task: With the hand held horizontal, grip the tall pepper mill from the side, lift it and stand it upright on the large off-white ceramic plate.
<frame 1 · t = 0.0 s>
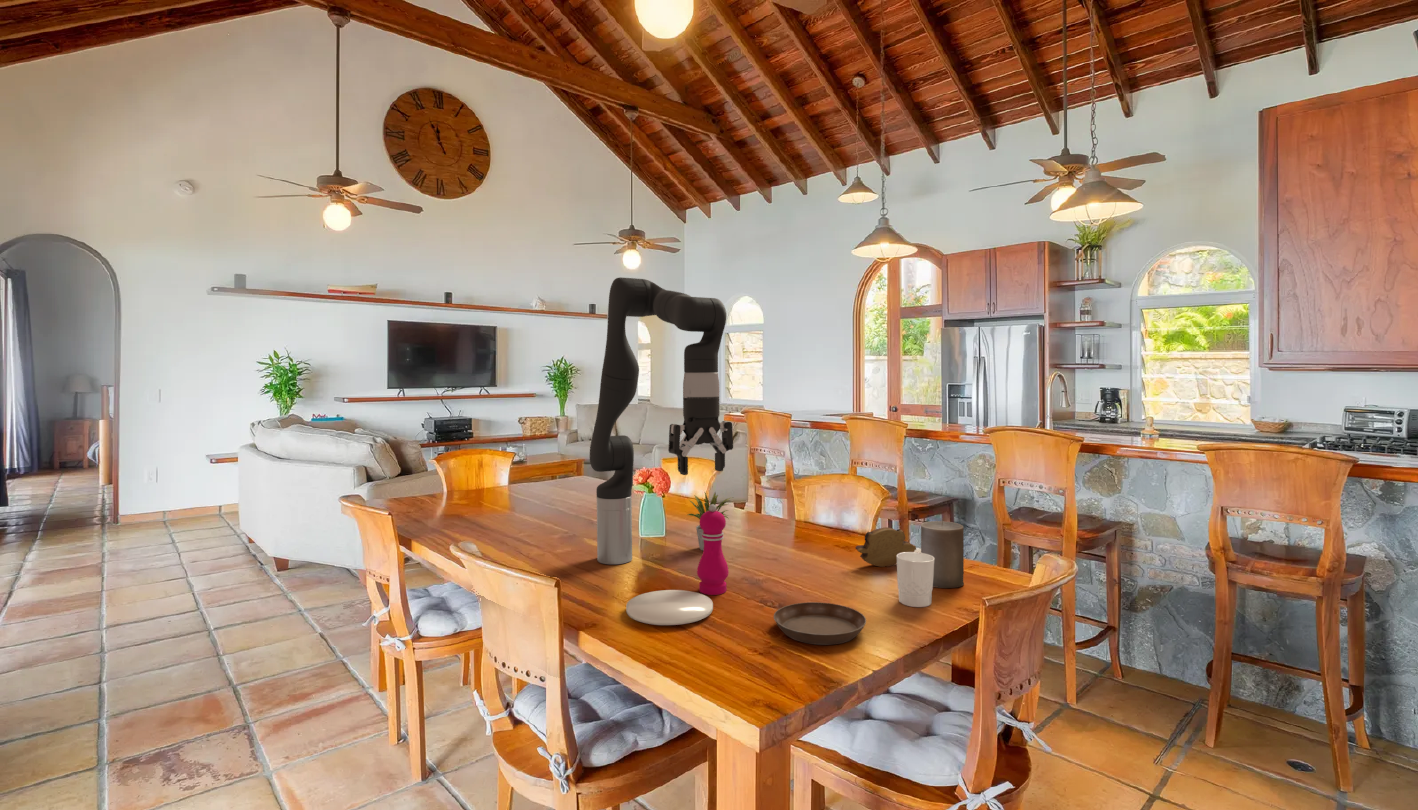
hand: (701, 472, 139), 29 cm above the table, tool pointing down, fingers open, 8 cm apart
plant saucer: (819, 632, 130), on the table
plate: (669, 612, 140), on the table
house plant: (710, 550, 189), on the table
white cup: (914, 603, 145), on the table
pepper mill: (712, 591, 154), on the table
wooden carving: (884, 566, 173), on the table
pillar candle: (941, 583, 159), on the table
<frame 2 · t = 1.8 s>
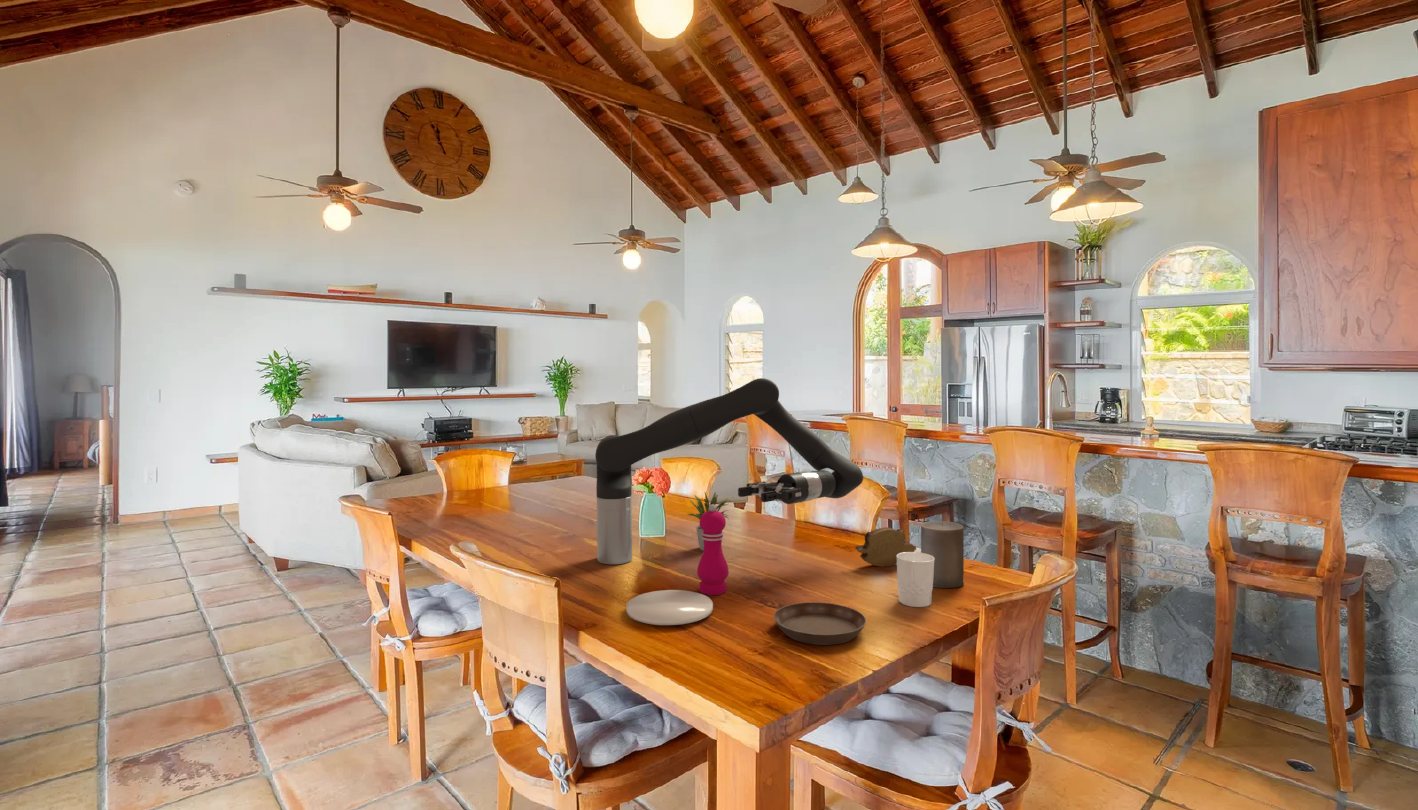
hand: (750, 495, 159), 21 cm above the table, tool horizontal, fingers open, 8 cm apart
nothing on the table moved.
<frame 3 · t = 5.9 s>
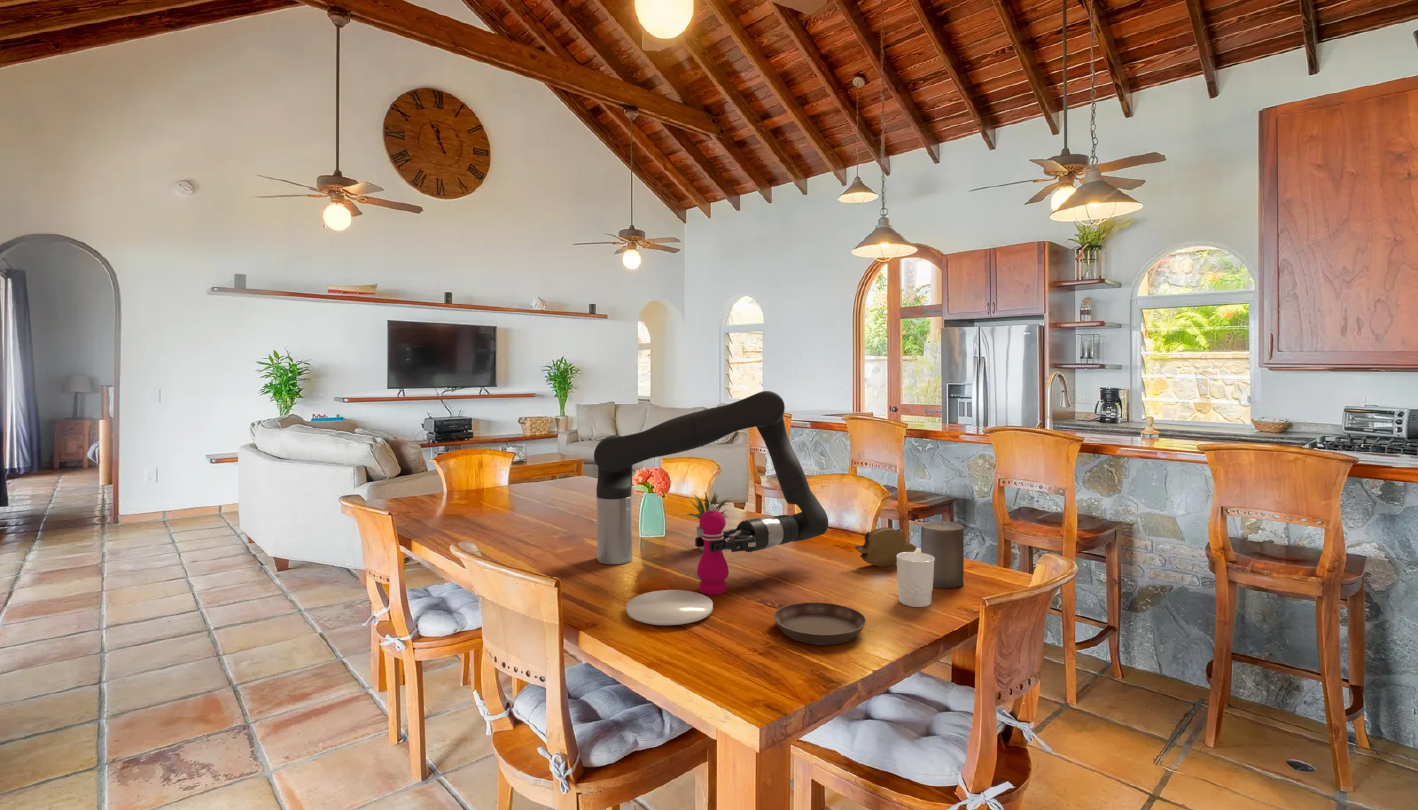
hand: (703, 544, 151), 11 cm above the table, tool horizontal, fingers closed on pepper mill, 4 cm apart
pepper mill: (712, 591, 154), on the table, touching gripper
everything else where it was.
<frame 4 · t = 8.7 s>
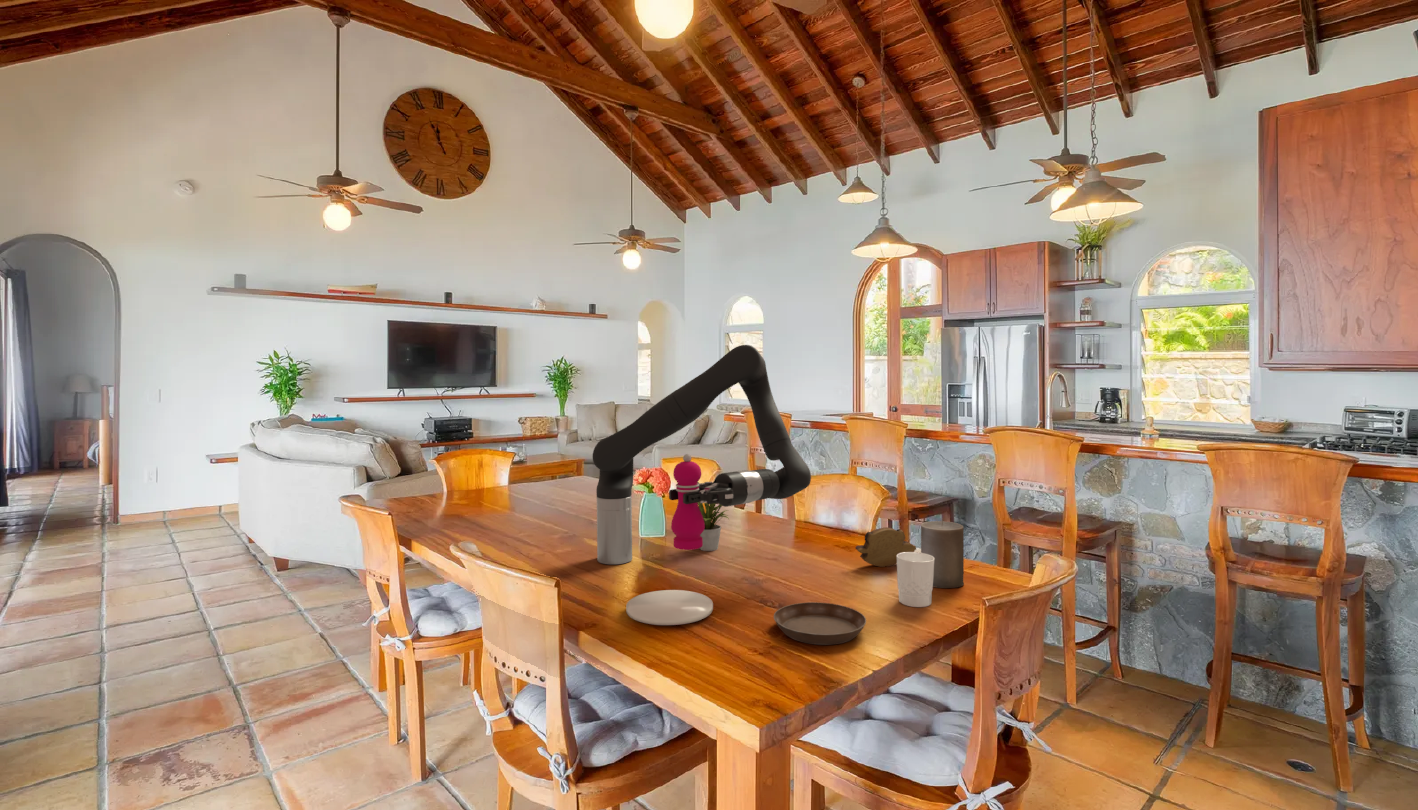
hand: (677, 497, 142), 24 cm above the table, tool horizontal, fingers closed on pepper mill, 4 cm apart
pepper mill: (688, 547, 144), point 12 cm above the table, touching gripper
everything else where it was.
when the fingers open (14 cm above the table, at t = 11.5 s): pepper mill moves 4 cm, resting on plate.
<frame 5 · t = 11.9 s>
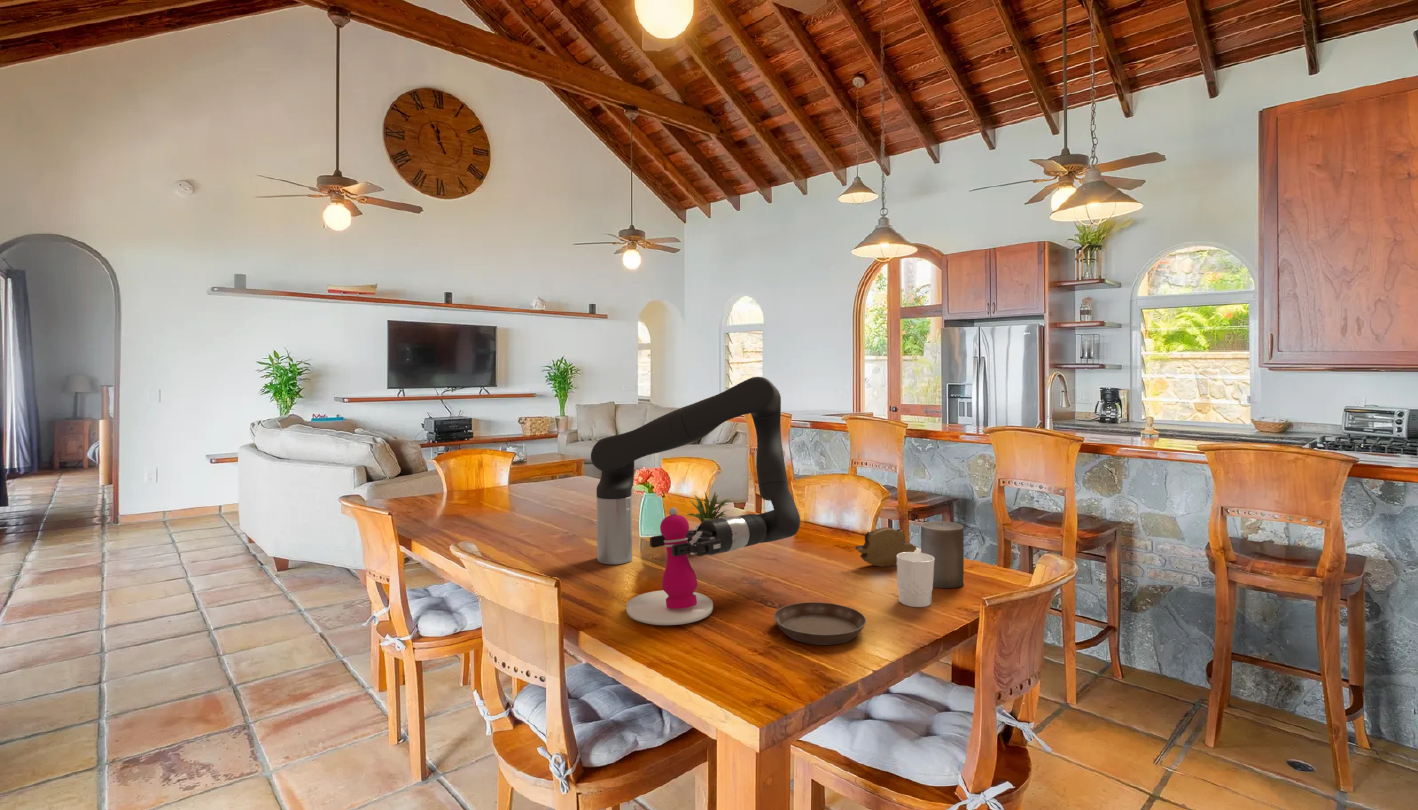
hand: (661, 546, 138), 14 cm above the table, tool horizontal, fingers open, 8 cm apart
pepper mill: (681, 606, 137), point 2 cm above the table, touching gripper, plate
everything else where it was.
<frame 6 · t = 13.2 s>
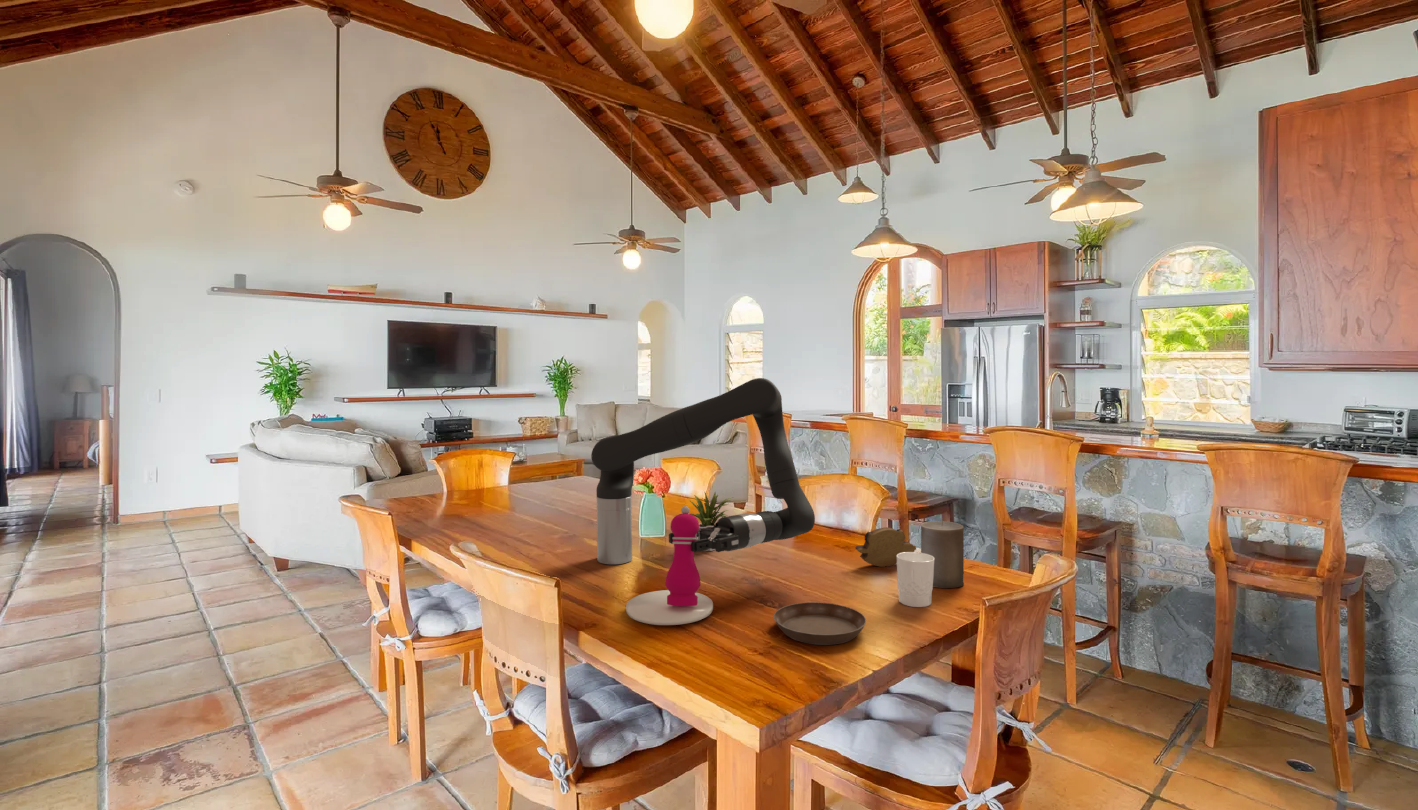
hand: (680, 542, 141), 14 cm above the table, tool horizontal, fingers open, 8 cm apart
pepper mill: (682, 605, 137), point 2 cm above the table, touching plate
everything else where it was.
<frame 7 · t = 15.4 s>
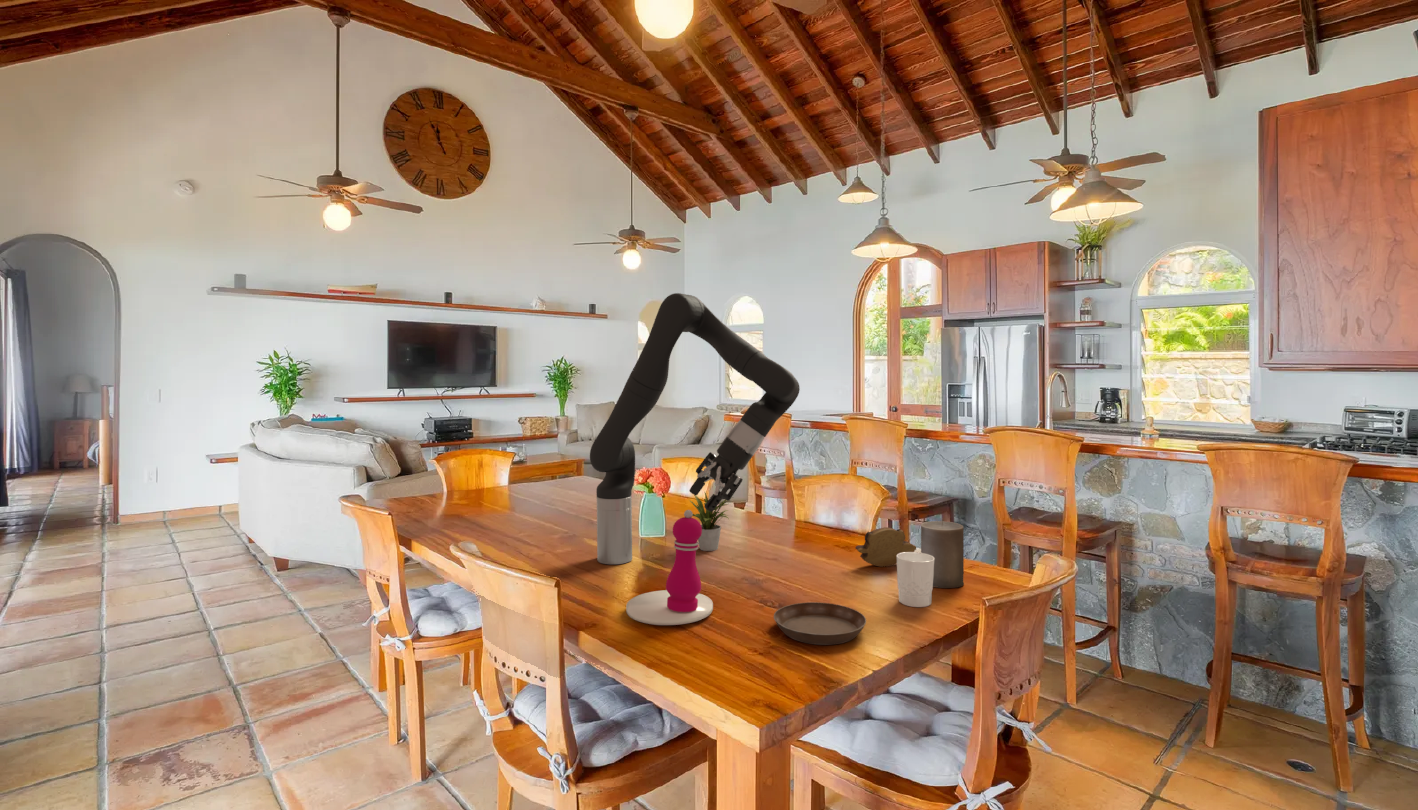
hand: (699, 501, 154), 20 cm above the table, tool tilted 35°, fingers open, 8 cm apart
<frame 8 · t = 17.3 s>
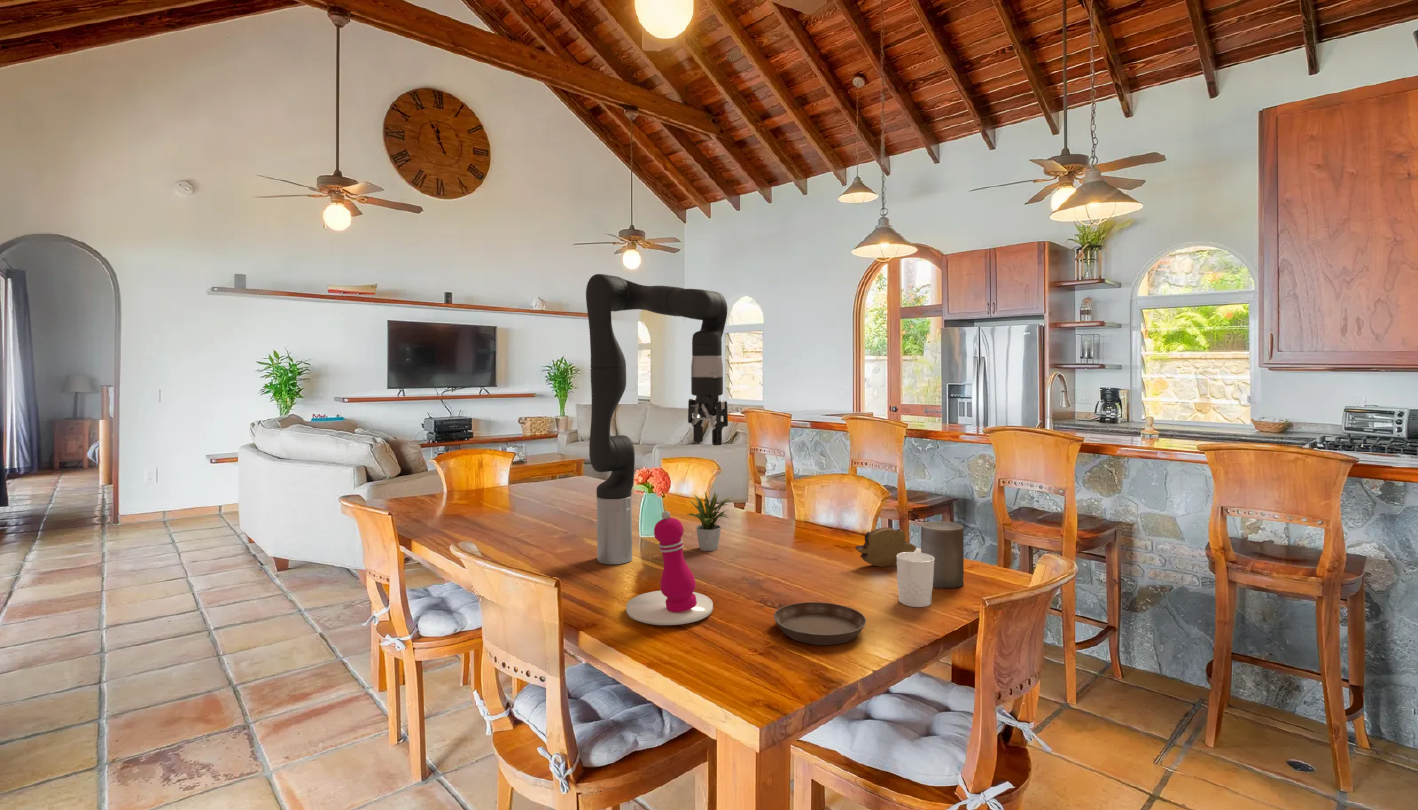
hand: (707, 443, 159), 33 cm above the table, tool pointing down, fingers open, 8 cm apart
at the end: pepper mill inside the target area on the plate (3.9 cm from its centre), point 2.1 cm above the plate's base; pepper mill tilted 9°; the gripper is holding nothing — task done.
